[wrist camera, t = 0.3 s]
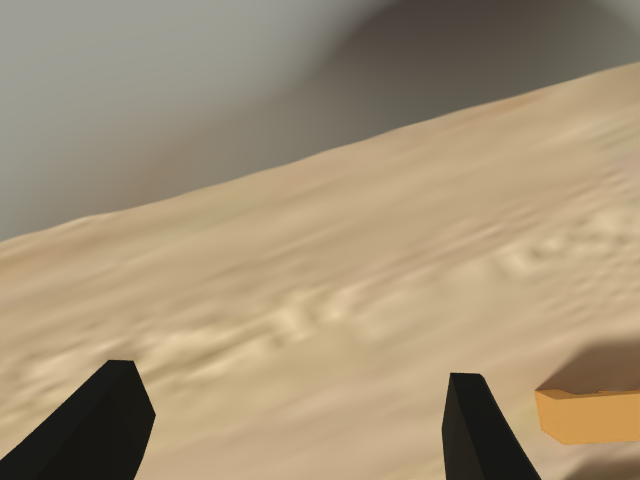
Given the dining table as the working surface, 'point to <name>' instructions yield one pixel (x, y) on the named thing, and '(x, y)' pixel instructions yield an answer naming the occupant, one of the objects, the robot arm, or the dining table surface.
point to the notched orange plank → (589, 416)
